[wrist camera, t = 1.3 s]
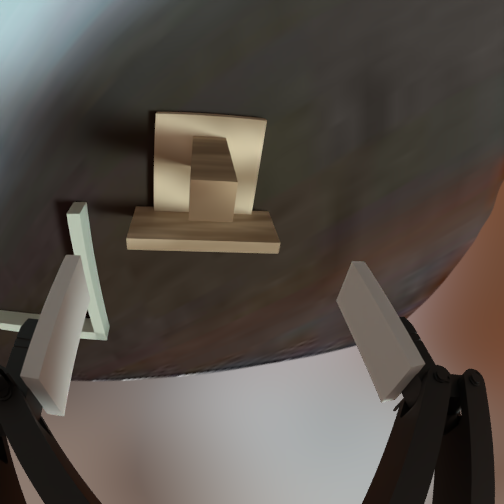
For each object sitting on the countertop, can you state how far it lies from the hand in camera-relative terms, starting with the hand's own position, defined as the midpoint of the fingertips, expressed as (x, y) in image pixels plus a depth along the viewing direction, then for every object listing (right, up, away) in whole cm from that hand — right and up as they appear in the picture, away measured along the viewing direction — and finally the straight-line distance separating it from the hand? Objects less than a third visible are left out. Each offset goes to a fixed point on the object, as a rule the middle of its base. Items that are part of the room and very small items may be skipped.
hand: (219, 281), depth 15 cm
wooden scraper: (-3, +10, +16) cm, 19 cm away
